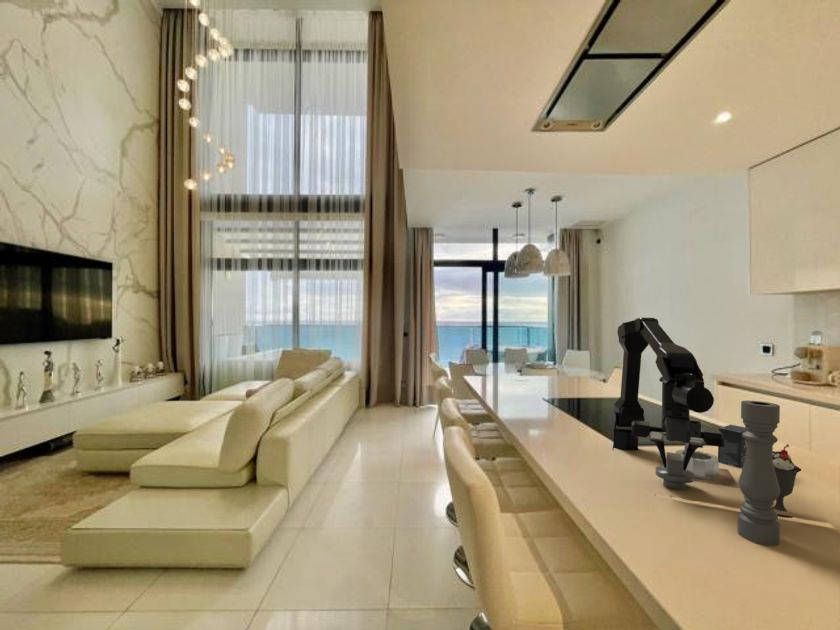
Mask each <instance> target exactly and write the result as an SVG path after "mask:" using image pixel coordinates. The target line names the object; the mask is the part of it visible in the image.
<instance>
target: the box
mask: <svg viewBox="0 0 840 630" xmlns="http://www.w3.org/2000/svg"><path fill="white" fill-rule="evenodd" d="M718 430H719V431H720V432H721V433H722V435H723V436H724V447H719V446H717V447H718V448H717V458H718V459H719V464H720V463H721V464H724V465H727V466H730V467H734V468H738V469H741V468H742V469H743V466H744V462H745V459H746V448H747V441H746V440H745V438H743V436H742V433H744V432H746V431H747V429H746V427H745V426H739V425H736V424H735V425H734V424H728V425H725V426H721V427H720V426H719V428H718Z"/></svg>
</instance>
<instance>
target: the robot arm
mask: <svg viewBox="0 0 840 630" xmlns="http://www.w3.org/2000/svg"><path fill="white" fill-rule="evenodd" d="M659 323H660V322H659V320H658V319H657V318H655V317H637V318H635V319H634V320H630V321H626V322H622V323H621V324H620V325H619V326H618V328H617V337H618V344H620V346H621V348H622V350H623V360H622V373H621V383H620V397H619V398H618V399H617V400H616V402H615V403H614V404H613V410H612V411H611V414H610V416H609V418H608V420H607V427H608V429H609V430H611V431H612V432H613V435H612V436H613V441H612V442H613V445H612V450H614V449H618V450H622V451H626V452H628V451H629V452H630V451H631V452H632V451H637V452H638V451H639V438H647V437H648V438H649V441H650V442H653V443H655V445H656V447H657V449H658V452H659V454H660V458H661V460H662V461H663V465H664V468H666V459H667V454H666V449H665V440H664V438H663V437H664V436H665V439H666V440H667V441H668V442H669V441H670V442H681V443H683V444H684V449H683V450H684V457H683V461H684V465H683V470H684V471H685V470H686V468H687V466H688V463H689V461H690V458H691V457H692V455H693V453H694V452H695V451H697V449H699V448H701V449H702V448H704V444H703V442H704V443H705V444H706V445H707V446H712V447H718V446H719V447H724V436H723V435H722V433H721V432H720V431H719V428H708V427H702V423H701V421H699V420H691V419H690V413H691V411H692V412H694V413H697V414H702V413H706V412H708V411H710V410H711V408H712V407H713V405H714V401H715V398H714V397H715V396H713V393H712V391H710V389H708V388H707V387H705V380H704V378H703V377H704V373H703V372H702V370H701V368H700V366H699V364H698V362H697V361H698V360H697V359H696V357H695V356H694V354H693V353H692V352H691V351H689V350H688V349H687V348H686V347H684V346H681V345H678V344H676V343H675V342H674V341H673V339H672V338H671V337H670V336H669V335H668V333H666V332H665V330H664V329H663V328H662V326H661V325H660V324H659ZM648 346H650V348H651V349H652V351H653V352H654V354H655V355H656V359H655V365H656V367H657V370H658V371H659V373H660V374H661V377H659V379H658V380H659V382H662V383H661V385H662V386H661V389H662V390H661V426H654V425H650V424H651V423H650V421H645V419H646V418H645V410H644V408H643V407H642V406H641V404H640V402H639V399H638V398H639V393H640V392H639V390H640V377H641V365H642V353H643V352H644V351H645V350H646V348H647V347H648Z"/></svg>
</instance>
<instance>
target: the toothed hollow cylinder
mask: <svg viewBox="0 0 840 630" xmlns="http://www.w3.org/2000/svg"><path fill="white" fill-rule="evenodd" d="M675 453H678V454H681V456H682V458H683V457H684V449H679V450H675ZM719 464H720V463H719V459H718V456H715V455H713V454H712V453H709V452H704V451H700V450H695V452H694V453H693V455H692V457H691V458H690V461H689V463H688V466H687V468H686V470H689V471H691V472H692V473H694V478H699V479H716V478H718V468H720V467H719Z"/></svg>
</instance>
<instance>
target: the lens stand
mask: <svg viewBox="0 0 840 630" xmlns="http://www.w3.org/2000/svg"><path fill="white" fill-rule="evenodd" d="M659 466H664V465H663V461H662V459H659ZM694 482H699V483H705V484H711V485H717V486H718V485H719V486H722V487H723V486H724V487H731V488H737V489H740V488H739V483H737V481H736V479H735V478H734V477H733V475H732V474H731V472H730V471H729V469H725V468H720V467H719V468H718V478H716V479H699V478H694Z"/></svg>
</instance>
